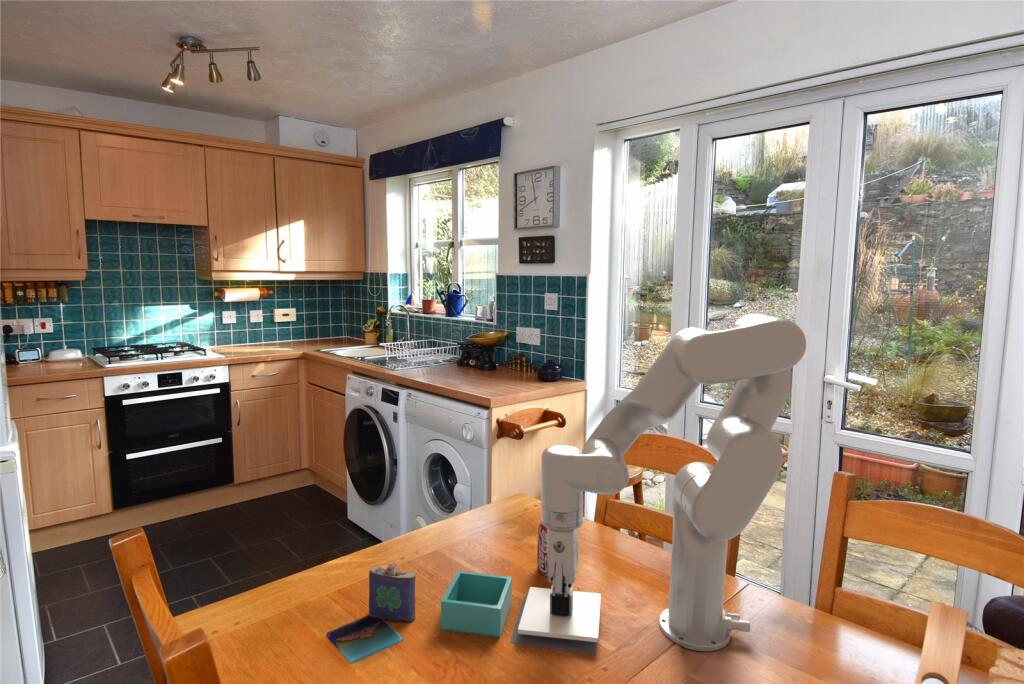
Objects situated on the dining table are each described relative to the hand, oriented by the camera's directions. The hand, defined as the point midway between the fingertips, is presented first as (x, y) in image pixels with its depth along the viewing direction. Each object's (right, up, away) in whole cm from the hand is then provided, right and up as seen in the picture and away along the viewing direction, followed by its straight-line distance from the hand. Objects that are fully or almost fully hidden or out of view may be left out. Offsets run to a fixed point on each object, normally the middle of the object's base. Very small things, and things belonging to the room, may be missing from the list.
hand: (561, 607), depth 109 cm
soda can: (0, -1, +20) cm, 20 cm away
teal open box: (-16, -3, +2) cm, 16 cm away
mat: (-1, -4, 0) cm, 4 cm away
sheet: (0, -1, 0) cm, 1 cm away
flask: (-32, -3, +2) cm, 32 cm away
